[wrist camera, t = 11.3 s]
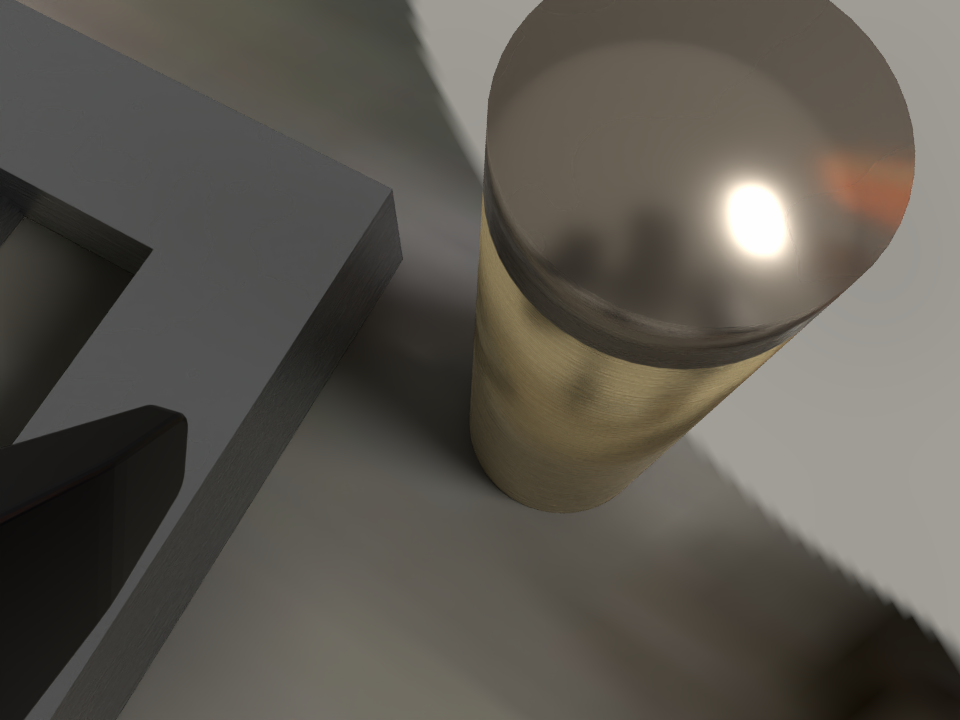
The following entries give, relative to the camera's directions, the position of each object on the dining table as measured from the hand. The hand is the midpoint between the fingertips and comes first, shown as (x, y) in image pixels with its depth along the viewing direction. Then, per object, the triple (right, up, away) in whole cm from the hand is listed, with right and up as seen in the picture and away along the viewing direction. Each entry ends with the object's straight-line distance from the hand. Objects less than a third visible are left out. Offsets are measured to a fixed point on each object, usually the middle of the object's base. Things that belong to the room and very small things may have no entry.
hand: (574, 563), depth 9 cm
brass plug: (+1, +1, +14) cm, 14 cm away
